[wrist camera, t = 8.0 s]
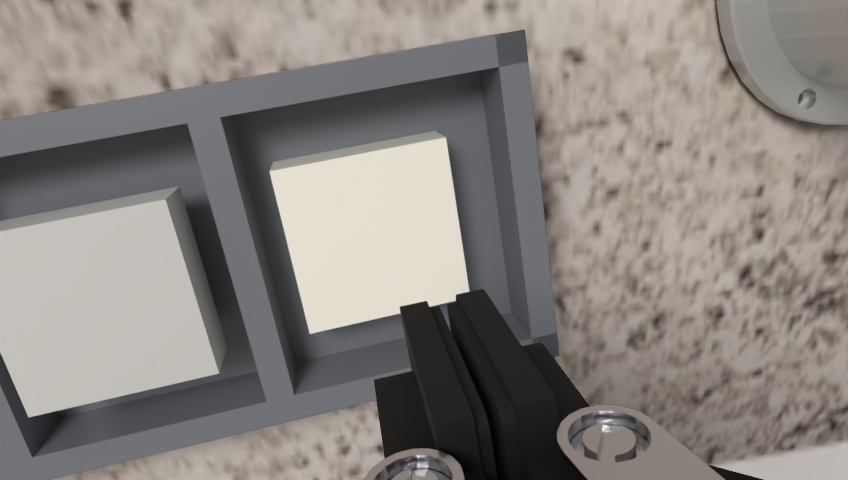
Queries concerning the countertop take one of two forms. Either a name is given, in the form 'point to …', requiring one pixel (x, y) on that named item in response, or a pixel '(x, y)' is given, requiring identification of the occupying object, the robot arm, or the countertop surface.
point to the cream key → (371, 229)
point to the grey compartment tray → (280, 231)
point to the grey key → (105, 302)
